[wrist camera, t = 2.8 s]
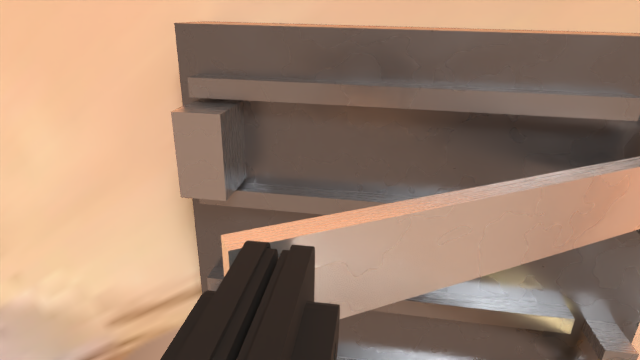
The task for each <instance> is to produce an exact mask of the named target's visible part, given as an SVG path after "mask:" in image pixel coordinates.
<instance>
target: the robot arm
mask: <svg viewBox="0 0 640 360" xmlns="http://www.w3.org/2000/svg"><path fill="white" fill-rule="evenodd" d="M314 288H315V247H314V246H303V245H291V247H290V250H282V252H281V255H280V257H279V259H278V251H277V249H271V246H270V243H269V242H260V241H249V240H248V241H246V242H245V243H244V245H243V247H242V248H241V250H240V252H239V253H238V255H237V257H236V258H235V260H234V262H233V263H232V265H231V267H230V268H229V270H228V272H227V274H226V275H225V277H224V279H223V280H222V282H221V284H220V285H219V287H218V289H217V290H216V291H210V290H207V291H205V292H204V293H203V294H202V295H201V297H200V298H199V300H198V301H197V303H196V305H195V306H194V308H193V309H192V311H191V312H190V314H189V316H188V317H187V319H186V320H185V322H184V323H183V325H182V327H181V328H180V330H179V331H178V333H177V334H176V336H175V338H174V339H173V341H172V342H171V344H170V345H169V347H168V349H167V350H166V352H165V353H164V355H163V356H162V358H161V360H337V351H338V339H339V321H340V305H339V304H330V303H320V302H314Z"/></svg>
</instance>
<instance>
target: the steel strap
mask: <svg viewBox="0 0 640 360" xmlns="http://www.w3.org/2000/svg"><path fill="white" fill-rule="evenodd" d="M639 229H640V156H638V157H633V158H628V159H622V160H617V161H612V162H606V163H601V164H596V165H591V166H585V167H580V168H575V169H569V170H564V171H559V172H553V173H548V174H543V175H537V176H532V177H527V178H521V179H516V180H511V181H505V182H500V183H495V184H489V185H484V186H479V187H474V188H468V189H463V190H458V191H452V192H447V193H442V194H436V195H431V196H426V197H420V198H415V199H410V200H404V201H399V202H394V203H388V204H383V205H378V206H372V207H367V208H362V209H357V210H351V211H346V212H341V213H335V214H330V215H325V216H319V217H314V218H309V219H303V220H298V221H293V222H287V223H282V224H277V225H271V226H266V227H261V228H255V229H250V230H245V231H239V232H234V233H229V234H224V235H221V243H222V256H223V268H224V277H225V275H226V274H227V272H228V270H229V268H230V267H231V265H232V263H233V262H234V260H235V258H236V257H237V255H238V253H239V252H240V250H241V248H242V247H243V245H244V243H245V242H246V241H248V240H249V241H260V242H269V243H270V246H271V249H277V251H278V259H279V257H280V255H281V252H282V250H290V247H291V245H303V246H314V247H315V288H314V302H320V303H330V304H339V305H340V319H342V318H345V317H349V316H352V315H355V314H359V313H362V312H365V311H369V310H372V309H375V308H379V307H382V306H385V305H389V304H392V303H395V302H399V301H402V300H405V299H409V298H412V297H415V296H419V295H422V294H425V293H429V292H432V291H435V290H439V289H442V288H445V287H449V286H452V285H455V284H459V283H462V282H465V281H469V280H472V279H475V278H479V277H482V276H485V275H489V274H492V273H495V272H499V271H502V270H505V269H509V268H512V267H515V266H519V265H522V264H525V263H529V262H532V261H535V260H539V259H542V258H545V257H549V256H552V255H555V254H559V253H562V252H565V251H569V250H572V249H575V248H579V247H582V246H585V245H589V244H592V243H595V242H599V241H602V240H605V239H609V238H612V237H615V236H619V235H622V234H625V233H629V232H632V231H635V230H639Z"/></svg>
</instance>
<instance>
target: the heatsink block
mask: <svg viewBox="0 0 640 360" xmlns="http://www.w3.org/2000/svg"><path fill="white" fill-rule="evenodd" d="M174 24H175V33H176V43H177V53H178V62H179V72H180V82H181V91H182V101H183V107H180V108H178V109H176V110H174V111H172V112H171V115H172V123H173V132H174V141H175V149H176V158H177V167H178V176H179V184H180V193H181V197H185V198H193V207H194V217H195V227H196V236H197V246H198V256H199V265H200V275H201V285H202V294H203V293H204V292H205V291H207V290H210V291H216V290H217V289H218V287H219V285H220V284H221V282H222V280H223V279H224V268H223V256H222V243H221V235H224V234H229V233H234V232H239V231H245V230H250V229H255V228H261V227H266V226H271V225H277V224H282V223H287V222H293V221H298V220H303V219H309V218H314V217H319V216H325V215H330V214H335V213H341V212H346V211H351V210H357V209H362V208H367V207H372V206H378V205H383V204H388V203H394V202H399V201H404V200H410V199H415V198H420V197H426V196H431V195H436V194H442V193H447V192H452V191H458V190H463V189H468V188H474V187H479V186H484V185H489V184H495V183H500V182H505V181H511V180H516V179H521V178H527V177H532V176H537V175H543V174H548V173H553V172H559V171H564V170H569V169H575V168H580V167H585V166H591V165H596V164H601V163H606V162H612V161H617V160H622V159H628V158H633V157H638V156H640V33H605V32H569V31H532V30H496V29H459V28H423V27H386V26H350V25H314V24H277V23H241V22H186V23H174ZM639 322H640V229H639V230H635V231H632V232H629V233H625V234H622V235H619V236H615V237H612V238H609V239H605V240H602V241H599V242H595V243H592V244H589V245H585V246H582V247H579V248H575V249H572V250H569V251H565V252H562V253H559V254H555V255H552V256H549V257H545V258H542V259H539V260H535V261H532V262H529V263H525V264H522V265H519V266H515V267H512V268H509V269H505V270H502V271H499V272H495V273H492V274H489V275H485V276H482V277H479V278H475V279H472V280H469V281H465V282H462V283H459V284H455V285H452V286H449V287H445V288H442V289H439V290H435V291H432V292H429V293H425V294H422V295H419V296H415V297H412V298H409V299H405V300H402V301H399V302H395V303H392V304H389V305H385V306H382V307H379V308H375V309H372V310H369V311H365V312H362V313H359V314H355V315H352V316H349V317H345V318H342V319H340V321H339V339H338V351H337V360H598V358H599V360H637V358H638V355H639V354H638V353H637V351H636V350H635V349H634V347H633V346H632V344H631V343H632V340H633V338H634V335H635V333H636V330H637V328H638V325H639Z"/></svg>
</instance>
